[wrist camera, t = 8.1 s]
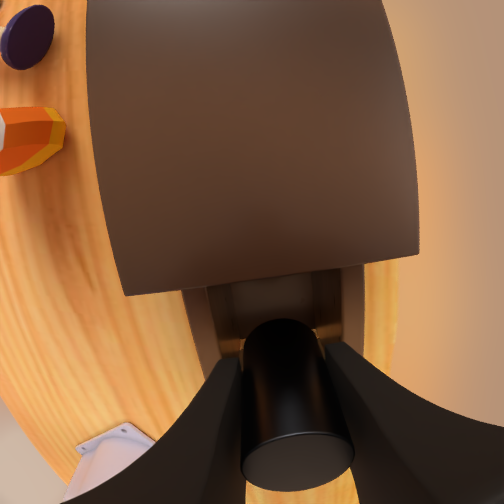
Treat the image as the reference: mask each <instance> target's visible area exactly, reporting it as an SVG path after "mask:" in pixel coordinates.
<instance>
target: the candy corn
mask: <svg viewBox="0 0 504 504" xmlns="http://www.w3.org/2000/svg"><path fill="white" fill-rule="evenodd" d="M65 129H66V123H65V122H64V120H63V119H62V118H61V117H60V115H59V114H58V112H57V111H56V110H55V109H54V108H47V107H19V108H3V109H0V176H8V175H14V174H17V173H20V172H22V171H25V170H28V169H31V168H34V167H36V166H39V165H41V164H42V163H43V162H44V161H46V160H47V159H48V158H49V157H50V156H52V155H53V154H55V153H56V152H57V151H59V150H60V149H62V148H63V142H64V136H65Z"/></svg>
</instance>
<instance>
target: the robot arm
mask: <svg viewBox="0 0 504 504" xmlns="http://www.w3.org/2000/svg"><path fill="white" fill-rule="evenodd" d="M325 363H326V366H327V368H328V371H329V374H330V377H331V380H332V383H333V385H334V388H335V391H336V394H337V397H338V400H339V403H340V406H341V409H342V412H343V415H344V417H345V420H346V423H347V426H348V429H349V432H350V435H351V438H352V441H353V444H354V448H355V457H354V460H353V462H352V464H351V465H350V469H351V472H352V475H353V478H354V481H355V485H356V489H357V494H358V498H359V503H360V504H504V427H501V426H497V425H492V424H487V423H484V422H480V421H477V420H473V419H470V418H467V417H465V416H462V415H459V414H456V413H454V412H451V411H449V410H446V409H444V408H441V407H439V406H437V405H435V404H433V403H431V402H429V401H427V400H425V399H423V398H421V397H419V396H418V395H416V394H414V393H412V392H411V391H409V390H407V389H406V388H404V387H403V386H401V385H399V384H398V383H397V382H395V381H394V380H392V379H391V378H389V377H388V376H387V375H385V374H384V373H383V372H381V371H380V370H379V369H377V368H376V367H375V366H373V365H372V364H371V363H370V362H368V361H367V360H366V359H365V358H363V357H362V356H361V355H360V354H359V353H358V352H356V351H355V350H354V349H353V348H352V347H350V346H349V345H348V344H347V343H345V342H344V341H343V342H338V343H333V344H327V345H325ZM242 379H243V374H242V370H241V365H240V360H239V357H237V358H227V359H219V360H218V361H217V363H216V364H215V366H214V368H213V369H212V371H211V373H210V374H209V376H208V378H207V379H206V381H205V382H204V384H203V385H202V387H201V388H200V390H199V391H198V393H197V394H196V396H195V397H194V398H193V400H192V401H191V403H190V404H189V405H188V407H187V408H186V409H185V410H184V412H183V413H182V414H181V415H180V417H179V418H178V419H177V420H176V422H175V423H174V424H173V425H172V426H171V427H170V428H169V430H168V431H167V432H166V433H165V434H164V435H163V436H162V437H161V438H160V439H159V440H158V441H157V442H155V441H153V440H152V439H151V438H149V437H148V436H147V435H145V434H144V433H143V432H141V431H140V430H139V429H137V428H136V427H135V426H133V425H132V424H131V423H127V422H125V423H123V424H121V425H119V426H117V427H115V428H113V429H111V430H109V431H107V432H105V433H103V434H100V435H98V436H96V437H94V438H92V439H90V440H88V441H86V442H83V443H81V444H79V445H77V446H76V448H75V449H76V451H77V452H79V453H80V454H81V455H82V457H81V459H80V462H79V464H78V466H77V468H76V470H75V472H74V474H73V476H72V479H71V481H70V483H69V485H68V487H67V490H66V492H65V494H64V499H63V503H60V504H246V503H245V495H246V479H245V477H244V476H243V475H242V473H241V470H240V451H241V414H242Z"/></svg>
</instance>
